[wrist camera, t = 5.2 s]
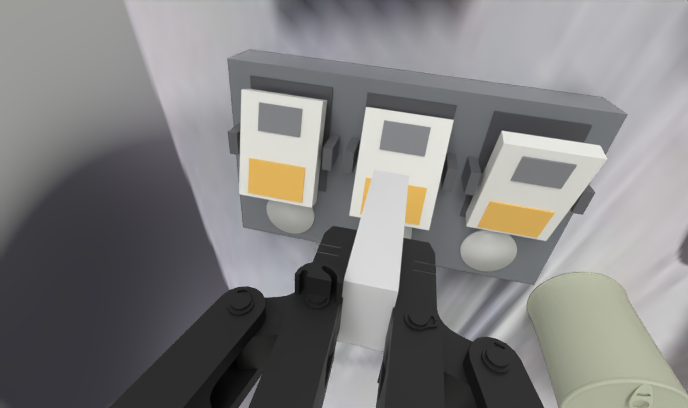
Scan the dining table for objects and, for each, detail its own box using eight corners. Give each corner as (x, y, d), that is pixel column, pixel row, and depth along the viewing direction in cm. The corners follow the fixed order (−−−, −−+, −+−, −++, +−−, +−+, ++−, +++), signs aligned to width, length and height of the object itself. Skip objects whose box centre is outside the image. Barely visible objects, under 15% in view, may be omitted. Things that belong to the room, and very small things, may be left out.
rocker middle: (367, 107, 26) (365, 106, 24) (451, 119, 25) (453, 120, 24) (351, 210, 28) (348, 216, 26) (427, 224, 27) (429, 231, 26)
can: (641, 276, 34) (730, 399, 24) (608, 337, 39) (670, 461, 29) (538, 267, 36) (580, 378, 26) (518, 327, 41) (548, 439, 31)
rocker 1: (249, 88, 26) (240, 89, 25) (327, 100, 26) (322, 101, 24) (246, 188, 29) (238, 194, 28) (316, 201, 29) (311, 208, 27)
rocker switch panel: (249, 49, 30) (208, 66, 24) (602, 97, 26) (649, 129, 21) (258, 205, 39) (230, 244, 33) (523, 256, 35) (541, 308, 30)
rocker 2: (501, 130, 23) (504, 144, 22) (600, 145, 22) (607, 160, 21) (465, 213, 28) (466, 227, 27) (542, 227, 28) (546, 242, 27)
